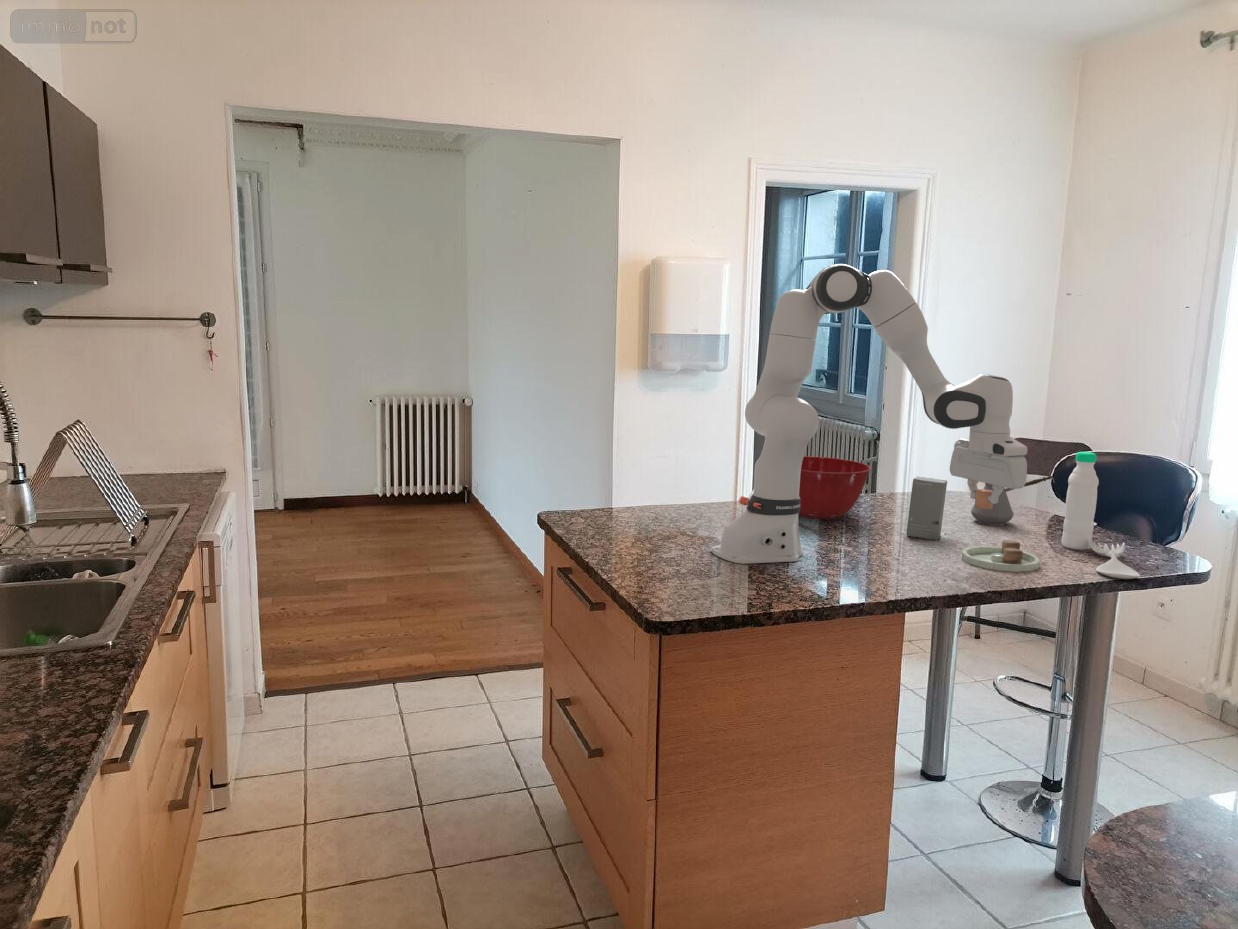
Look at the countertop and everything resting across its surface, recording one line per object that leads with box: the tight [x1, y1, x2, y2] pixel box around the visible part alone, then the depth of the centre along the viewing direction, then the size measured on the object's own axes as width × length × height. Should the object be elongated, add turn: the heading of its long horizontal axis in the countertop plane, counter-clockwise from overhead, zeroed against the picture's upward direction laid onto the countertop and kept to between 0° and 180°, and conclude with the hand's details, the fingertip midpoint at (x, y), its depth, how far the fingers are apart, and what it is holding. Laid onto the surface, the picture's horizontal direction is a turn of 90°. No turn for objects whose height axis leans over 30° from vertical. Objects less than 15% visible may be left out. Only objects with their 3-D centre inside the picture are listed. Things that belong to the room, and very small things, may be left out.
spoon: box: [1087, 539, 1142, 580], centre depth 217 cm, size 9×32×3 cm, turn 158°
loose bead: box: [974, 488, 993, 509], centre depth 216 cm, size 4×4×4 cm
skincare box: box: [906, 476, 948, 541], centre depth 243 cm, size 8×7×16 cm
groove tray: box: [961, 545, 1041, 573], centre depth 216 cm, size 17×17×2 cm
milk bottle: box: [1060, 451, 1100, 551], centre depth 234 cm, size 7×7×25 cm
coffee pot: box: [970, 475, 1055, 526], centre depth 260 cm, size 21×12×15 cm, turn 71°
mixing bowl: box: [798, 455, 872, 520], centre depth 267 cm, size 28×28×15 cm
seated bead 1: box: [1001, 539, 1021, 554], centre depth 219 cm, size 4×4×4 cm
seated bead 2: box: [1003, 548, 1023, 564], centre depth 212 cm, size 4×4×4 cm
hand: (983, 500), depth 216 cm, fingers closed on loose bead, 4 cm apart
